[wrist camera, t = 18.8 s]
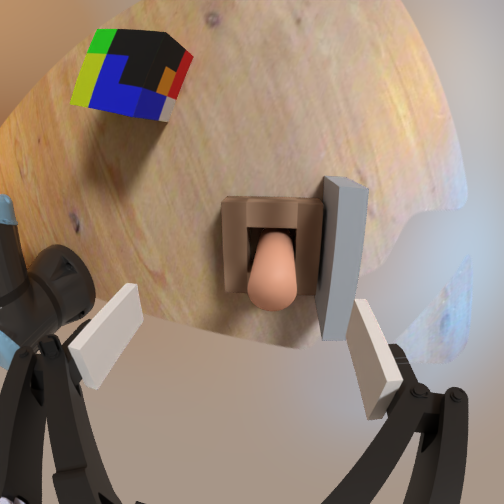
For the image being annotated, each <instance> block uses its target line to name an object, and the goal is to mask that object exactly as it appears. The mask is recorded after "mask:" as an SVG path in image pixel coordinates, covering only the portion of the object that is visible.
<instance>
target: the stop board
mask: <svg viewBox="0 0 504 504" xmlns="http://www.w3.org/2000/svg"><path fill="white" fill-rule="evenodd" d="M368 193H369V189H368V188H366V187H365V186H363V185H361V184H359V183H357V182H355V181H353V180H351V179H349V178H347V177H336V176H324V190H323V219H322V234H321V247H320V258H319V269H318V279H317V289H316V295H315V302H316V308H317V313H318V319H319V325H320V331H321V337H322V341H343V340H346V337H345V336H346V332H347V328H348V324H349V320H350V316H351V311H352V307H353V302H354V299H355V294H356V289H357V283H358V277H359V271H360V264H361V257H362V250H363V242H364V234H365V225H366V216H367V205H368Z"/></svg>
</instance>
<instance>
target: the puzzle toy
mask: <svg viewBox="0 0 504 504" xmlns="http://www.w3.org/2000/svg"><path fill="white" fill-rule="evenodd" d="M192 59H193V56H192V55H191V54H190V53H189V52H188V51H187V50H186V49H185V48H183V47H182V46H181V45H180V44H179V43H178V42H177V41H176V40H174V39H173V38H172V37H171V36H170V35H169V34H167V33H166V32H157V31H146V30H129V29H97V31H96V33H95V35H94V37H93V40H92V42H91V44H90V47H89V49H88V52H87V54H86V57H85V59H84V62H83V64H82V67H81V70H80V73H79V76H78V78H77V81H76V85H75V88H74V91H73V94H72V97H71V101H70V104H71V105H77V106H82V107H88V108H93V109H98V110H103V111H108V112H112V113H117V114H121V115H125V116H130V117H135V118H142V119H150V120H157V121H163V122H169V119H170V116H171V113H172V110H173V107H174V105H175V102H176V99H177V97H178V94H179V91H180V89H181V86H182V84H183V81H184V78H185V76H186V74H187V71H188V69H189V66H190V64H191V62H192Z"/></svg>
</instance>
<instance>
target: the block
mask: <svg viewBox="0 0 504 504" xmlns="http://www.w3.org/2000/svg"><path fill="white" fill-rule="evenodd" d="M221 213H222V239H223V261H224V280H225V292H236V293H248V290H247V288H248V283H249V278H250V274H251V270H252V266H253V262H254V260H251V257H250V227H266V228H295V242H294V261H295V272H296V284H297V294H296V295H316V289H317V279H318V269H319V258H320V247H321V234H322V219H323V203H322V202H321V201H320V199H319V198H295V197H249V196H227V197H226V198H225V199H224V200H223V201H222V202H221Z"/></svg>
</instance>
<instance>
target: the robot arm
mask: <svg viewBox="0 0 504 504" xmlns="http://www.w3.org/2000/svg"><path fill="white" fill-rule="evenodd" d="M17 225H18V222H17V221H16V217H15V213H14V208H13V202H12V200H11V198H10V197H9V196H8V195H5V194H0V366H1V367H3V368H4V369H6V370H8V372H7V375H6V378H5V381H4V384H3V387H2V390H1V393H0V504H42V458H43V442H44V433H45V424H46V416H47V424H48V431H49V437H50V443H51V447H52V453H53V458H54V462H55V467H56V473H55V474H53V476H52V478H53V483H54V487H55V490H56V494H57V498H58V501H59V504H122V503H121V501H120V499H119V498H118V497H117V495H116V494H115V492H114V490H113V488H112V485H111V483H110V481H109V478H108V476H107V473H106V471H105V468H104V465H103V463H102V460H101V457H100V454H99V451H98V448H97V445H96V442H95V439H94V436H93V432H92V429H91V425H90V422H89V418H88V415H87V411H86V406H85V402H84V398H83V394H82V389H81V386H80V384H79V382H80V381H81V380H82V379H83V381H84V383H85V385H86V386H87V387H90V388H93V389H96V390H98V388H99V387H100V385H101V384H102V382H103V381H104V379H105V377H106V376H107V374H108V373H109V371H110V370H111V368H112V367H113V365H114V364H115V362H116V361H117V359H118V357H119V356H120V355H121V353H122V351H123V350H124V349H125V347H126V346H127V344H128V343H129V341H130V340H131V338H132V337H133V335H134V334H135V332H136V331H137V329H138V328H139V327H140V325H141V324H142V322H143V321H144V319H143V314H142V309H141V304H140V298H139V293H138V287H137V284H131V283H126V284H125V285H124V286H123V287H122V288H121V289H120V290H119V291H118V292H117V293H116V294H115V296H114V297H113V298H112V299H111V300H110V301H109V302H108V303H107V304H106V305H105V306H104V307H103V308H102V309H101V310H100V311H99V312H98V314H97V315H96V316H95V317H94V318H93V319H92V320H91V319H88V320H87V321H85V322H83V323H82V324H81V325H80V326H79V327H78V328H77V330H75V331H74V332H73V334H72V335H71V336H70V337H69V338H68V339H67V340H66V341H65V342H64V343H63V345H61V343H60V340H59V338H58V336H56V335H54V333H55V332H56V331H57V330H58V329H59V328H60V327H61V326H64V325H66V324H69V323H71V322H74V321H77V320H79V319H81V318H83V317H84V316H85V315H86V314H88V312H89V311H90V310H91V309H92V308H93V306H94V302H95V288H94V283H93V280H92V278H91V275H90V273H89V271H88V269H87V267H86V266H85V264H84V263H83V261H82V260H81V259H80V258H79V257H78V256H77V255H76V254H75V253H74V252H73V251H72V250H70V249H69V248H67V247H65V246H62V245H51V246H49V247H48V248H46V249H44V250H43V251H41V252H40V253H39V255H38V256H37V257H36V259H35V260H34V261H33V263H32V264H31V266H30V267H29V268H28V270H27V269H26V265H25V261H24V257H23V253H22V248H21V244H20V239H19V233H18V227H17ZM345 337H346V340H347V344H348V347H349V351H350V354H351V358H352V361H353V365H354V369H355V372H356V376H357V380H358V384H359V388H360V391H361V396H362V400H363V404H364V408H365V412H366V417H367V420H374V419H382V418H383V416H384V414H385V413H386V412H387V415H388V419H387V420H386V422H385V423H384V425H383V427H382V428H381V430H380V431H379V433H378V434H377V435H376V437H375V438H374V440H373V441H372V443H371V444H370V445H369V447H368V448H367V449H366V451H365V452H364V454H363V455H362V456H361V458H360V459H359V460H358V462H357V463H356V464H355V465H354V467H353V468H352V469H351V470H350V472H349V473H348V474H347V475H346V476H345V478H344V479H343V480H342V481H341V482H340V484H339V485H338V486H337V487H336V488H335V489H334V490H333V491H332V493H331V494H330V495H329V496H328V497H327V498H326V499H325V500H324V501H323V502H322V503H321V504H370V503H371V501H372V500H373V498H374V497H375V496H376V494H377V493H378V491H379V490H380V489H381V487H382V486H383V484H384V483H385V481H386V480H387V478H388V477H389V475H390V474H391V472H392V470H393V469H394V467H395V466H396V464H397V462H398V461H399V459H400V457H401V456H402V454H403V452H404V450H405V448H406V447H407V445H408V443H409V441H410V439H411V437H412V436H413V433H414V432H419V433H421V436H420V441H419V446H418V451H417V456H416V460H415V464H414V468H413V472H412V476H411V480H410V483H409V486H408V490H407V493H406V496H405V499H404V502H403V504H460V499H461V494H462V488H463V482H464V475H465V467H466V457H467V442H468V396H467V394H466V393H465V391H463V390H462V389H461V388H458V387H451V388H449V389H448V390H447V391H446V392H445V394H438V393H432V392H430V390H429V389H428V387H427V386H425V385H424V384H422V383H418V381H417V379H416V377H415V374H414V372H413V370H412V368H411V366H410V364H409V361H408V359H407V358H406V355H405V353H404V351H403V349H402V348H400V347H399V346H398V345H397V344H387V342H386V339H385V337H384V335H383V333H382V331H381V329H380V326H379V324H378V322H377V320H376V318H375V316H374V314H373V312H372V310H371V308H370V306H369V304H368V302H367V300H366V299H354V302H353V307H352V311H351V316H350V320H349V324H348V328H347V332H346V336H345ZM38 350H40V352H41V354H36V353H37V351H38ZM135 504H144V503H141V502H138V501H136V503H135Z"/></svg>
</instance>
